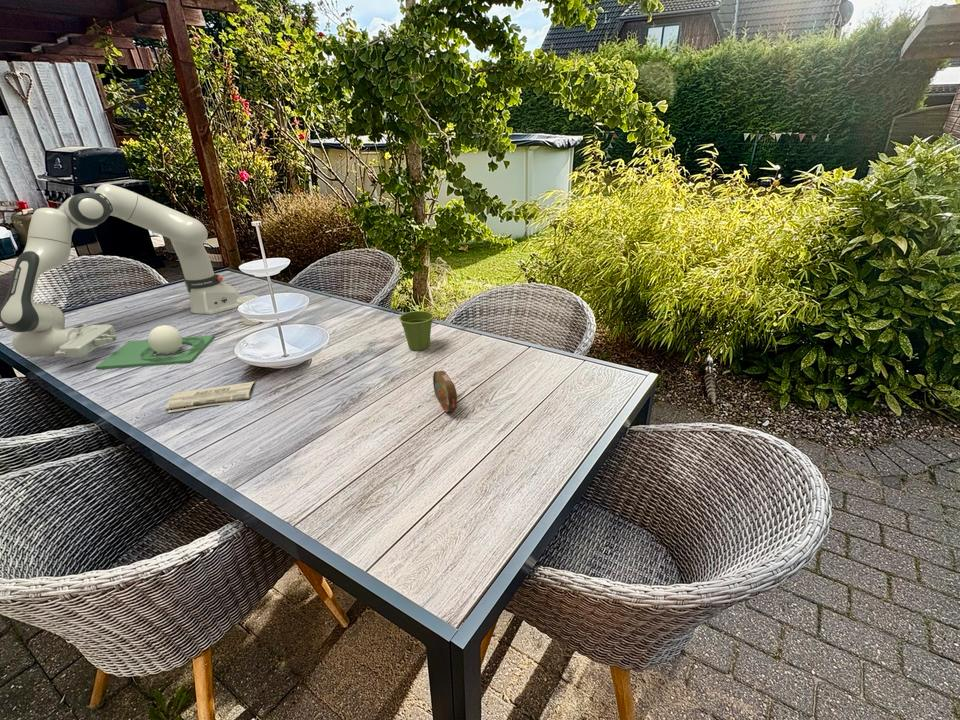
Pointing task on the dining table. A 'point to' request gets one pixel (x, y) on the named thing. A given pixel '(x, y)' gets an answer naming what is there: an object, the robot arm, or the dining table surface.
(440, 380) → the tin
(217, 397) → the newspaper
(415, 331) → the plant pot
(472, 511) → the dining table surface
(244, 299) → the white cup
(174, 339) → the ball
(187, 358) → the putting mat
